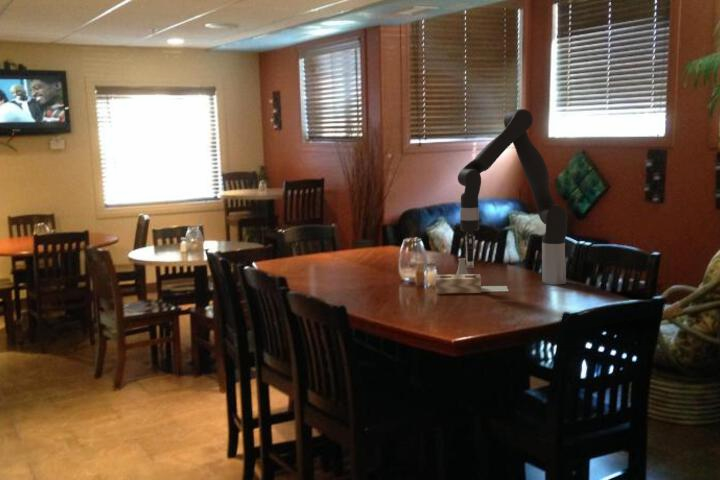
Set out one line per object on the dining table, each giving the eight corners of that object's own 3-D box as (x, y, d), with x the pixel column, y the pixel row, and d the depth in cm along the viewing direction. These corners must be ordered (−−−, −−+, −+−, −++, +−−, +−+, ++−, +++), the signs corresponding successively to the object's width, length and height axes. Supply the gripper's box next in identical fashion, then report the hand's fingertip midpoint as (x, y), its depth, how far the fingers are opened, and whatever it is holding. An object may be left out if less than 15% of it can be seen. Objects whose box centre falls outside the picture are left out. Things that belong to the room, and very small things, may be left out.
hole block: (480, 288, 297) (479, 274, 296) (481, 293, 288) (481, 278, 287) (436, 288, 300) (436, 274, 299) (436, 294, 290) (435, 279, 289)
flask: (470, 283, 309) (470, 260, 307) (453, 283, 310) (453, 260, 309) (471, 279, 316) (470, 257, 314) (454, 279, 317) (454, 257, 316)
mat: (506, 286, 298) (506, 285, 298) (508, 292, 288) (508, 291, 288) (477, 287, 299) (477, 286, 299) (478, 292, 290) (478, 291, 290)
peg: (473, 266, 293) (473, 242, 291) (473, 267, 290) (473, 243, 288) (466, 266, 293) (465, 242, 292) (466, 267, 290) (466, 243, 289)
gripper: (479, 220, 281) (480, 263, 284) (478, 216, 295) (478, 257, 298) (460, 220, 282) (461, 263, 285) (460, 216, 296) (460, 257, 299)
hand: (470, 260), depth 291 cm, fingers closed on peg, 3 cm apart
